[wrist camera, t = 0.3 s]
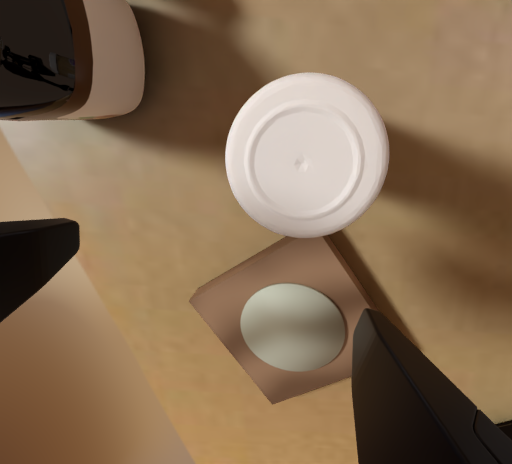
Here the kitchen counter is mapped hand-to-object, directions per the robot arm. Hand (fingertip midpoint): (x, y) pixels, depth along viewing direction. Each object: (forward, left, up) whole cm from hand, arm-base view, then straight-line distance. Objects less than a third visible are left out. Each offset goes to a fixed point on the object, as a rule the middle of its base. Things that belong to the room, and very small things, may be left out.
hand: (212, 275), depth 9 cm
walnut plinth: (-10, +5, -14) cm, 18 cm away
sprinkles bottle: (+1, -4, -14) cm, 15 cm away
